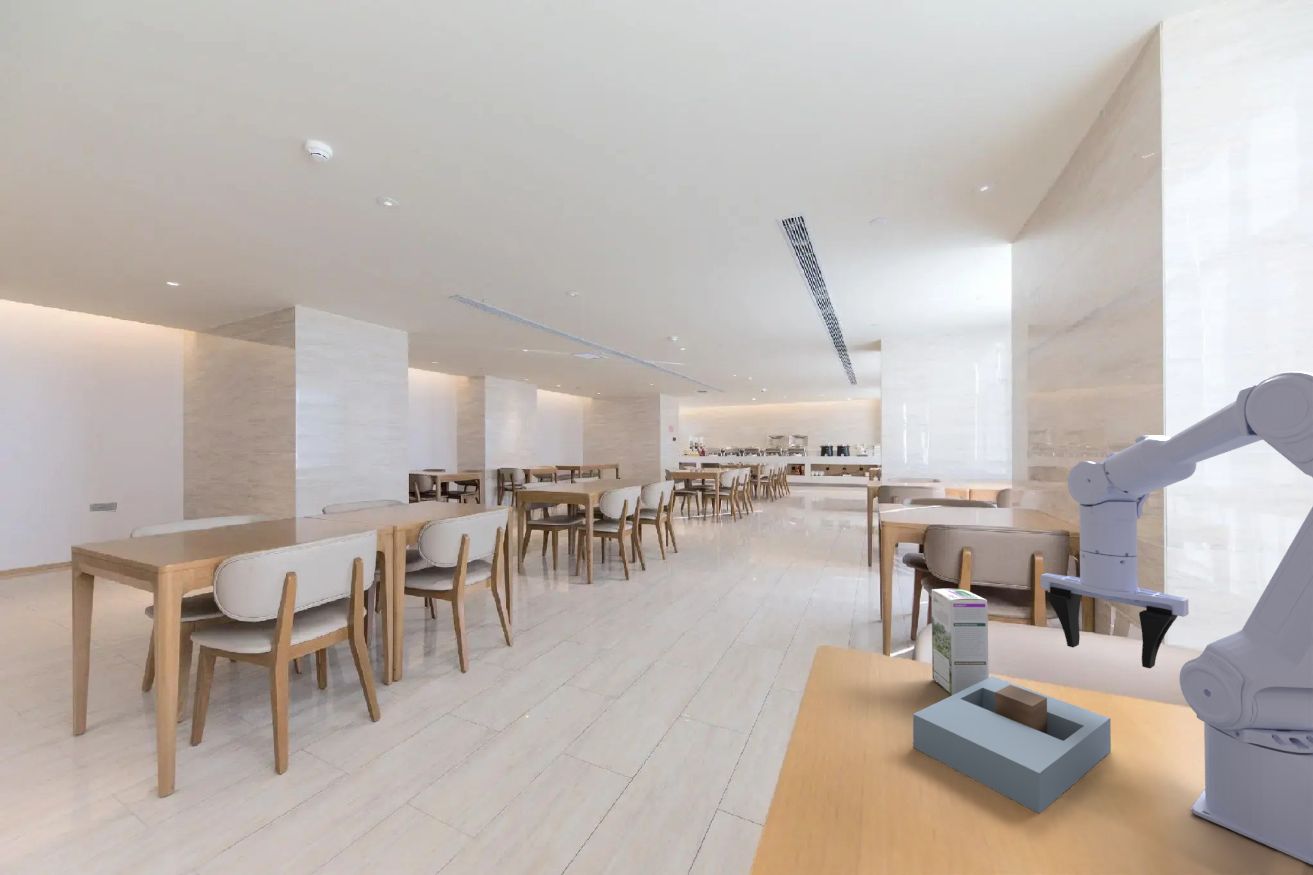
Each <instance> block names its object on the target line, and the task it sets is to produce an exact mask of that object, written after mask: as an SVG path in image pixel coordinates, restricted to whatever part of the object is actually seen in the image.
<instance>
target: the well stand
mask: <svg viewBox="0 0 1313 875" xmlns="http://www.w3.org/2000/svg"><path fill="white" fill-rule="evenodd" d="M1009 685H1013V686H1015V687H1018V688H1021V689H1024V690H1026V691H1029V692H1032V693H1035V694H1038V695H1040V696H1043V697H1046V698H1047V734H1045V733H1043V732H1040V731H1038V730H1035V729H1033V728H1030V727H1028V726H1025V725H1023V724H1021V723H1018V722H1016V721H1013V720H1011V719H1008V718H1006V717H1003V716H1001V715H999V714H996V713H995V692H997V691H999V690H1001V689H1003V688H1005V687H1007V686H1009ZM912 715H913V716H912V718H913V719H912V720H913V723H912V727H913V728H912V733H913V734H912V736H913V737H912V739H913V740H912V741H913V742H912V744H913V748H914V749H916V750H918V751H919V752H922V753H923V754H925V755H927V756H929V757H931V758H933V759H934V760H936V761H939V762H940V763H942V764H945V765H946V766H948V767H950V768H952V769H954V770H955V771H956V772H957V771H958V772H959V773H961V774H963V775H965V776H966V777H968V778H971V779H973V780H974V781H976V782H978V783H980V784H982V785H984V786H986V787H987V788H990V789H991V790H994V791H995V792H997V793H999V794H1001V795H1002V796H1005V797H1007V798H1009V799H1010V800H1012V801H1014V802H1016V803H1018V804H1021V805H1022V806H1024V807H1026V808H1028V809H1029V810H1031V811H1033V812H1036V813H1037V814H1041V813H1042V812H1044V811H1045V810H1046V809H1047V808H1048V807H1050V805H1052V804H1053V803H1054V802H1055V801H1056V800H1057V799H1058V798H1060V797H1061V796H1062V795H1063V794H1064V793H1065V792H1066V791H1068V789H1070V788H1071V787H1072V786H1073V785H1075V783H1077V782H1078V781H1079V780H1080V779H1081V778H1082V777H1084V776H1085V775H1086V774H1087V773H1088V772H1089V771H1090V770H1091V769H1093V768H1094V767H1095V766H1096V765H1097V764H1099V762H1100V761H1102V760H1103V759H1104V758H1105V757H1106V756H1107V755H1108V754H1110V753H1111V751H1112V748H1111V746H1112V744H1111V738H1112V737H1111V726H1112V725H1111V717H1108V716H1106V715H1103V714H1100V713H1097V712H1095V711H1092V710H1090V709H1086V708H1083V707H1080V706H1077V705H1075V704H1072V703H1070V702H1066V701H1064V700H1061V699H1057V698H1055V697H1052V696H1049V695H1047V694H1043V693H1041V692H1038V691H1035V690H1032V689H1029V688H1027V687H1024V686H1020V685H1018V684H1016V683H1012V682H1009V681H1007V680H1004V679H1001V678H998V677H995V676H989V678H987V679H985V680H983V681H981V682H979V683H977V684H975V685H973V686H971V687H969V688H967V689H965V690H962V691H960V692H958V693H956V694H954V695H950V696H948V697H946V698H944V699H942V700H940V701H938V702H936V703H933V704H931V705H929V706H927V707H925V708H923V709H921V710H919V711H916V712H915V713H913V714H912Z"/></svg>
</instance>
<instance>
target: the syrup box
mask: <svg viewBox="0 0 1313 875" xmlns="http://www.w3.org/2000/svg"><path fill="white" fill-rule="evenodd" d="M988 615H989V613H988V600H987V599H986V598H983V597H982V596H979V595H977V594H976V593H973V592H971V591H968V590H967V589H962V588H961V589H960V588H934V589H933V588H931V653H932V654H931V658H932V659H931V660H932V661H931V662H932V663H931V664H932V665H931V666H932V668H931V669H932V680H933V679H934V680H935V681H937V682H936V684H937V685H938V686H940V687H941V688H943V690H945V691H946V693H948V694H949V695H950V696H952V695H954V694H956V693H958V692H960V691H962V690H965V689H967V688H969V687H971V686H973V685H975V684H977V683H979V682H981V681H983V680H985V679H987V678H990V671H989V670H990V669H989V668H990V666H989V664H990V663H989V662H990V661H989V620H988V618H989V617H988ZM934 680H933V681H934ZM935 681H934V682H935Z"/></svg>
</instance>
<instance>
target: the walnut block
mask: <svg viewBox="0 0 1313 875" xmlns="http://www.w3.org/2000/svg"><path fill="white" fill-rule="evenodd" d="M995 713H996V714H999V715H1001V716H1003V717H1006V718H1008V719H1011V720H1013V721H1016V722H1018V723H1021V724H1023V725H1025V726H1028V727H1030V728H1033V729H1035V730H1038V731H1040V732H1043V733H1045V734H1047V698H1046V697H1043V696H1040V695H1038V694H1035V693H1032V692H1029V691H1026V690H1024V689H1021V688H1018V687H1015V686H1013V685H1009V686H1007V687H1005V688H1003V689H1001V690H999V691H997V692H995Z"/></svg>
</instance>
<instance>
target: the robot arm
mask: <svg viewBox="0 0 1313 875" xmlns="http://www.w3.org/2000/svg"><path fill="white" fill-rule="evenodd" d="M1262 440H1263V441H1264V442H1265V443H1266V444H1268V446H1270V447H1272V448H1273V449H1274V450H1275V451H1276V452H1278V453H1279V454H1280V455H1281V456H1282V457H1284V458H1285V459H1286V460H1287V461H1289V462H1290V463H1291V464H1292V465H1294V466H1295V468H1297V469H1299V470H1300V471H1301V472H1302V473H1303V474H1305V475H1307V476H1309V477H1311V478H1312V479H1313V373H1311V372H1305V371H1284V372H1280V373H1277V374H1273V375H1271V376H1269V377H1267V378H1265V379H1264V380H1262V381H1260V383H1258V384H1254V385H1252V386H1248V387H1245V388H1242V389H1241V390H1240V391H1238V395H1237V397H1236V400H1235V401H1233V402H1231V403H1230V404H1227V405H1226V406H1224V407H1222V408H1221V409H1219V410H1217V411H1215V412H1214V413H1212V414H1210V415H1209V416H1207V417H1205V418H1203V419H1201V420H1200V421H1198V422H1196V423H1195V424H1193V425H1191V426H1188V427H1187V428H1185V429H1183V430H1182V431H1180V432H1178V433H1177V434H1175V435H1174V436H1172V437H1171V436H1167V435H1161V434H1159V435H1158V434H1157V435H1154V434H1152V435H1149V434H1148V435H1143V434H1142V435H1140V436H1138V437H1136V438H1135V439H1134V442H1135V443H1134V444H1132V445H1131V446H1129V447H1126V448H1124V449H1122V450H1120V451H1118V452H1110V453H1109V454H1107V455H1106V458H1104V459H1103V460H1101V461H1100V462H1099V461H1097V462H1094V461H1090V460H1087V461H1086V460H1082V461H1079V462H1077V464H1076V465H1075V466H1073V467H1072V468H1071V470H1070V471H1069V472H1068V476H1067V488H1068V492H1069V493H1070V496H1071V497H1072V498H1073V500H1074V501H1076V502H1077V503H1078V504H1079V505H1078V506H1079V507H1078V508H1079V511H1078V514H1079V577H1078V576H1077V577H1076V576H1068V575H1060V574H1055V573H1047V572H1046V573H1043V574H1040V588H1041V589H1045V590H1049V593H1047V594H1046V598H1047V601H1048V602H1049V604H1050V605H1051V607H1052V608H1053V610H1054V612H1055V614H1056V616H1057V619H1058V620H1059V622H1060V625H1061V627H1062V631H1063V634H1064V637H1065V641H1066V646H1067V647H1070V648H1075V647H1077V646H1080V624H1079V622H1080V621H1079V620H1080V619H1079V618H1080V607H1081V600H1082V596H1083V597H1084V596H1086V597H1089V598H1090V597H1091V598H1096V599H1100V600H1106V601H1110V602H1114V603H1115V602H1116V603H1118V604H1119V603H1120V604H1125V605H1130V606H1134V607H1140V608H1144V609H1143V610H1142V611H1140V612H1138V616H1139V622H1140V628H1141V638H1142V639H1141V640H1142V644H1141V645H1142V648H1141V649H1142V650H1141V664H1142V665H1141V666H1142V668H1146V669H1152V668H1153V667H1155V666H1156V660H1157V655H1158V652H1159V649H1160V646H1161V643H1162V642H1163V640H1164V638H1165V636H1166V634H1167V633H1168V631H1169V629H1170V628H1171V626H1173V623H1174V622H1175V621H1176V620H1177V618H1178V617H1186V616H1188V615H1189V598H1188V597H1182V596H1178V595H1171V594H1167V593H1163V592H1159V591H1154V590H1150V589H1148V588H1147V589H1146V588H1141V587H1139V585H1138V584H1139V581H1138V580H1139V579H1138V578H1139V576H1138V575H1139V574H1138V573H1139V572H1138V568H1139V566H1138V565H1139V564H1138V560H1139V559H1138V520H1140V519H1141V516H1143V506H1144V504H1145V503H1146V501H1147V500H1148V498H1149V496H1150V494H1151V493H1153V492H1155V491H1157V490H1160V489H1163V488H1166V487H1168V486H1171V485H1173V484H1176V483H1178V482H1181V481H1184V480H1187V479H1189V478H1190V477H1192V475H1193V474H1194V473H1195V471H1196V469H1197V463H1200V462H1203V461H1206V460H1209V459H1210V458H1213V457H1216V456H1219V455H1223V454H1225V453H1228V452H1232V451H1233V450H1237V449H1239V448H1243V447H1245V446H1249V445H1251V444H1253V443H1256V442H1259V441H1262ZM1179 686H1180V690H1181V693H1182V695H1183V697H1184V699H1185V701H1186V703H1187V704H1188V706H1189V707H1190V709H1191V710H1192V711H1193V712H1194V713H1195V715H1196V718H1197V719H1198V720H1200V721H1202V722H1203V723H1204V724H1203V725H1204V726H1203V727H1204V729H1203V731H1204V734H1203V735H1204V736H1203V737H1204V742H1203V743H1204V789H1203V790H1202V792H1201V793H1200V794H1199V796H1198V798H1197V799H1196V801H1195V802H1194V803H1193V804H1192V806H1191V812H1192V813H1193V814H1194V815H1196V816H1197V817H1200V818H1202V819H1205V820H1207V821H1210V822H1212V823H1214V824H1217V825H1219V826H1221V827H1223V828H1225V829H1229V830H1230V831H1233V832H1234V833H1237V834H1239V835H1242V836H1245V837H1246V838H1249V839H1251V840H1253V841H1256V842H1258V843H1260V844H1263V845H1265V846H1267V847H1269V848H1272V849H1275V850H1277V851H1279V852H1281V853H1284V854H1286V855H1289V856H1291V857H1293V858H1296V859H1297V860H1300V861H1302V862H1305V863H1306V864H1309V865H1311V866H1313V506H1312V507H1311V508H1310V510H1309V512H1308V514H1307V515H1306V517H1305V519H1304V521H1303V522H1302V524H1301V526H1300V528H1299V530H1298V531H1297V533H1296V535H1295V537H1294V538H1293V540H1292V541H1291V543H1290V545H1289V547H1288V549H1287V551H1286V552H1285V554H1284V555H1283V557H1282V559H1281V560H1280V563H1279V565H1278V566H1277V568H1276V570H1275V571H1274V573H1273V575H1272V577H1271V578H1270V580H1269V581H1268V583H1267V586H1266V587H1265V588H1264V591H1263V592H1262V594H1261V596H1260V598H1258V601H1257V603H1256V604H1255V606H1254V608H1253V610H1252V612H1251V613H1250V615H1249V617H1248V619H1247V620H1246V622H1245V624H1244V626H1243V627H1242V628H1241V630H1238V631H1237V632H1235V633H1232V634H1229V635H1227V636H1225V637H1222V638H1219V639H1218V640H1216V641H1213V642H1210V643H1209V644H1207V645H1206V646H1205V648H1204V651H1202V652H1201V654H1200V655H1199V656H1197V657H1194V658H1193V659H1190V660H1188V661H1186V662H1185V663H1184V664H1183V665H1182V667H1181V669H1180V672H1179Z"/></svg>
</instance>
